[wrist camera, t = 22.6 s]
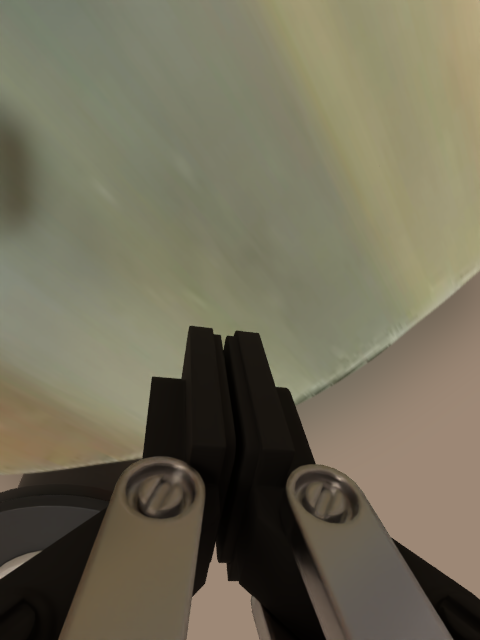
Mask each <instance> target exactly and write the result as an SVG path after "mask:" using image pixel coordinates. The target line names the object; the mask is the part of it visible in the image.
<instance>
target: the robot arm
mask: <svg viewBox="0 0 480 640" xmlns="http://www.w3.org/2000/svg"><path fill="white" fill-rule="evenodd" d="M215 542H216V547H217V559H218V562H219V563H227V574H228V581H239V584H240V585H241V586H242V587H244V588H245V589H246V590H247V591H248V592H249V593H250V594H251V595H252V597H251V606H252V613H253V617H254V621H255V624H256V628H257V632H258V635H259V639H260V640H480V599H478V598H477V597H476V596H475V595H473V594H472V593H471V592H469V591H468V590H467V589H465V588H464V587H462V586H461V585H459V584H458V583H456V582H455V581H454V580H452V579H451V578H449V577H448V576H446V575H445V574H443V573H442V572H441V571H439V570H438V569H436V568H435V567H433V566H432V565H430V564H429V563H427V562H426V561H425V560H423V559H422V558H420V557H419V556H417V555H416V554H414V553H413V552H411V551H410V550H409V549H407V548H406V547H404V546H403V545H401V544H400V543H398V542H397V541H396V540H394V539H393V538H391V537H390V535H389V534H388V532H387V531H386V529H385V527H384V526H383V524H382V522H381V521H380V519H379V518H378V516H377V514H376V513H375V511H374V509H373V508H372V506H371V505H370V503H369V501H368V500H367V498H366V496H365V495H364V493H363V492H362V490H361V489H360V488H359V487H358V485H357V484H356V483H355V482H354V481H353V480H352V479H350V478H349V477H348V476H347V475H346V474H344V473H342V472H340V471H338V470H336V469H334V468H331V467H328V466H324V465H316V464H315V461H314V458H313V455H312V452H311V449H310V447H309V444H308V441H307V438H306V435H305V432H304V430H303V427H302V424H301V421H300V418H299V415H298V413H297V410H296V407H295V404H294V401H293V398H292V395H291V393H290V391H289V389H287V388H282V387H275V383H274V380H273V377H272V374H271V370H270V367H269V364H268V361H267V357H266V354H265V351H264V348H263V344H262V341H261V338H260V335H259V333H253V332H243V331H236V332H235V334H234V336H227V337H226V340H225V345H224V350H223V347H222V340H221V335H216V334H213V329H212V328H205V327H196V326H189V331H188V337H187V344H186V351H185V358H184V365H183V372H182V379H175V378H163V377H152V381H151V390H150V399H149V407H148V416H147V424H146V433H145V442H144V450H143V459H142V460H140V461H138V462H136V463H133V464H132V465H131V466H129V467H128V468H127V469H126V470H125V471H124V472H123V473H122V475H121V476H120V478H119V480H118V481H117V484H116V486H115V489H114V492H113V494H112V497H111V500H110V502H109V505H108V507H106V508H105V509H103V510H102V511H100V512H99V513H97V514H96V515H94V516H93V517H91V518H90V519H88V520H87V521H85V522H84V523H82V524H81V525H80V526H78V527H77V528H75V529H74V530H72V531H71V532H69V533H68V534H66V535H65V536H63V537H62V538H60V539H59V540H57V541H56V542H54V543H53V544H51V545H50V546H48V547H47V548H46V549H44V550H41V551H36V552H31V553H27V554H24V555H22V556H19V557H16V558H14V559H12V560H10V561H8V562H7V563H5V564H4V565H2V566H1V567H0V640H186V638H187V630H188V623H189V615H190V607H191V600H192V597H193V596H194V595H195V593H196V592H197V591H198V590H199V589H200V588H201V587H202V586H203V585H204V584H205V581H206V577H207V572H208V568H209V563H210V562H211V559H212V555H213V551H214V547H215Z"/></svg>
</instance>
